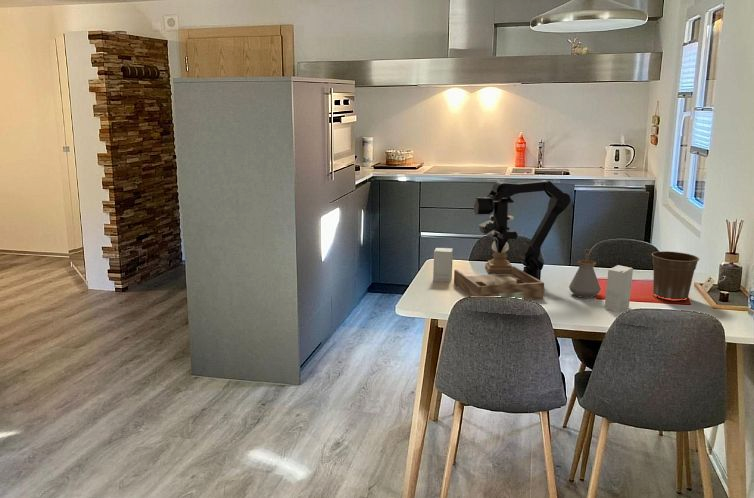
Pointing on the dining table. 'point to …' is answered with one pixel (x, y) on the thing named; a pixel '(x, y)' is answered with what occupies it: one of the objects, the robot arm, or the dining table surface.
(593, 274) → the coffee pot
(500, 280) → the birch block
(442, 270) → the supplement box
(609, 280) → the skincare box
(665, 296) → the plant pot
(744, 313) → the dining table surface
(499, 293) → the box
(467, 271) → the dining table surface
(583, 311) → the dining table surface
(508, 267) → the candle holder
